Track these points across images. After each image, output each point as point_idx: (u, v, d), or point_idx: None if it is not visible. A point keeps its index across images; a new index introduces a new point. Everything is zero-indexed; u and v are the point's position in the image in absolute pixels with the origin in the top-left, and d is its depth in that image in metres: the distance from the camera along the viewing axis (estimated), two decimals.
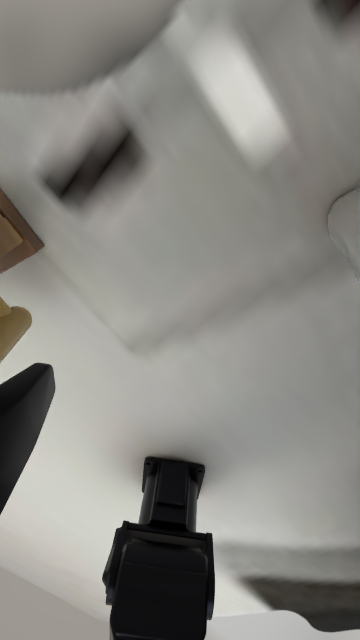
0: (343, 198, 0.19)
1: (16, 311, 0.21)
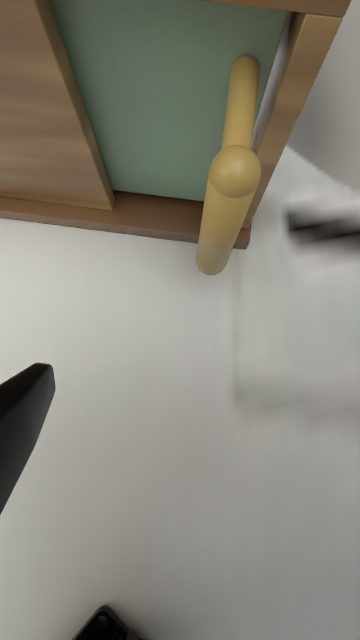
0: None
1: None
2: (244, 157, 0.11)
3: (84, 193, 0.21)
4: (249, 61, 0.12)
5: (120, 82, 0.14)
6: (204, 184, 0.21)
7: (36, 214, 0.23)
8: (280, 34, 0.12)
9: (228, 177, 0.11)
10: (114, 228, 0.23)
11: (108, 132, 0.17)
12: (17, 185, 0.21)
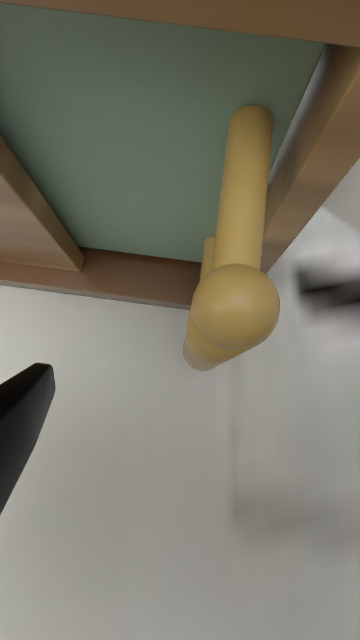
0: None
1: None
2: (252, 295, 0.06)
3: (41, 256, 0.16)
4: (257, 114, 0.08)
5: (66, 134, 0.10)
6: (194, 247, 0.16)
7: None
8: (309, 76, 0.07)
9: (224, 326, 0.06)
10: (82, 292, 0.18)
11: (62, 190, 0.13)
12: None
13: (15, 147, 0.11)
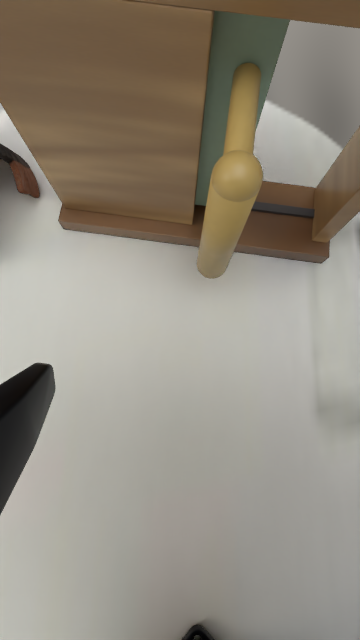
0: None
1: None
2: (246, 162, 0.11)
3: (170, 208, 0.21)
4: (251, 68, 0.13)
5: None
6: (205, 189, 0.21)
7: (115, 228, 0.23)
8: (281, 42, 0.12)
9: (230, 181, 0.11)
10: (192, 241, 0.23)
11: None
12: (103, 200, 0.21)
13: None
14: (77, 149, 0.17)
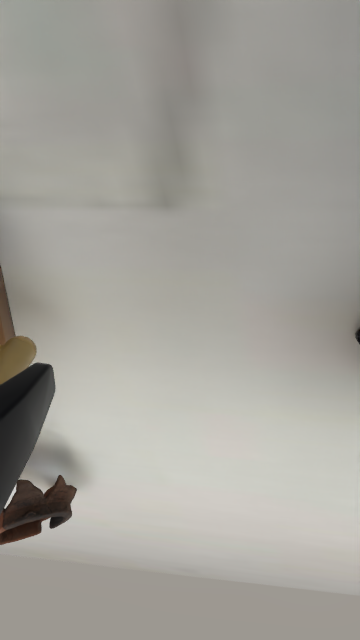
0: None
1: (5, 343, 0.19)
2: None
3: None
4: None
5: None
6: None
7: None
8: None
9: None
10: (7, 331, 0.23)
11: None
12: None
13: None
14: None
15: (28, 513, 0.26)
